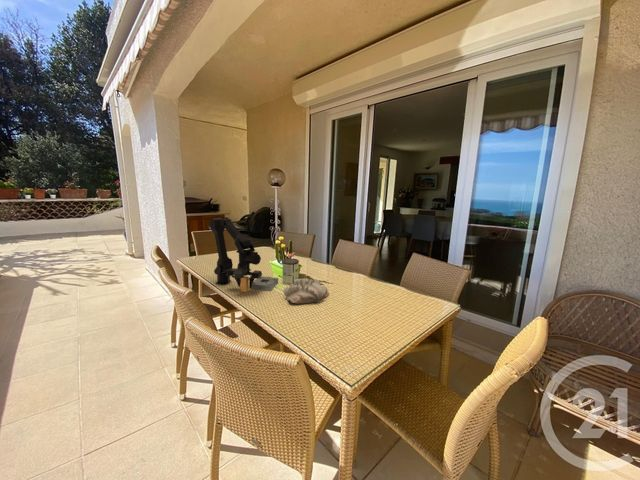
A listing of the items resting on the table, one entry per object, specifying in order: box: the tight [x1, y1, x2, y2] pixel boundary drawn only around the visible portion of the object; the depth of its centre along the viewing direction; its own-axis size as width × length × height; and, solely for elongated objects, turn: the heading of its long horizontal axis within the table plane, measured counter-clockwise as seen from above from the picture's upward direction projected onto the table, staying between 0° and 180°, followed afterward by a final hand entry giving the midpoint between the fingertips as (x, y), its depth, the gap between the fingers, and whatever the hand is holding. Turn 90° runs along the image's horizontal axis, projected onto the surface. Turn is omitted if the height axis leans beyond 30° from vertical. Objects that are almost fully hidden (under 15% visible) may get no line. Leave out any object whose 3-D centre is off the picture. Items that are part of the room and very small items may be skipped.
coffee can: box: [281, 258, 300, 286], centre depth 160 cm, size 10×10×14 cm
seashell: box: [282, 278, 330, 304], centre depth 140 cm, size 28×18×15 cm, turn 133°
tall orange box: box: [240, 275, 250, 293], centre depth 145 cm, size 3×3×8 cm
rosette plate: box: [250, 275, 279, 292], centre depth 153 cm, size 12×14×4 cm
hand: (244, 287), depth 145 cm, fingers open, 6 cm apart
